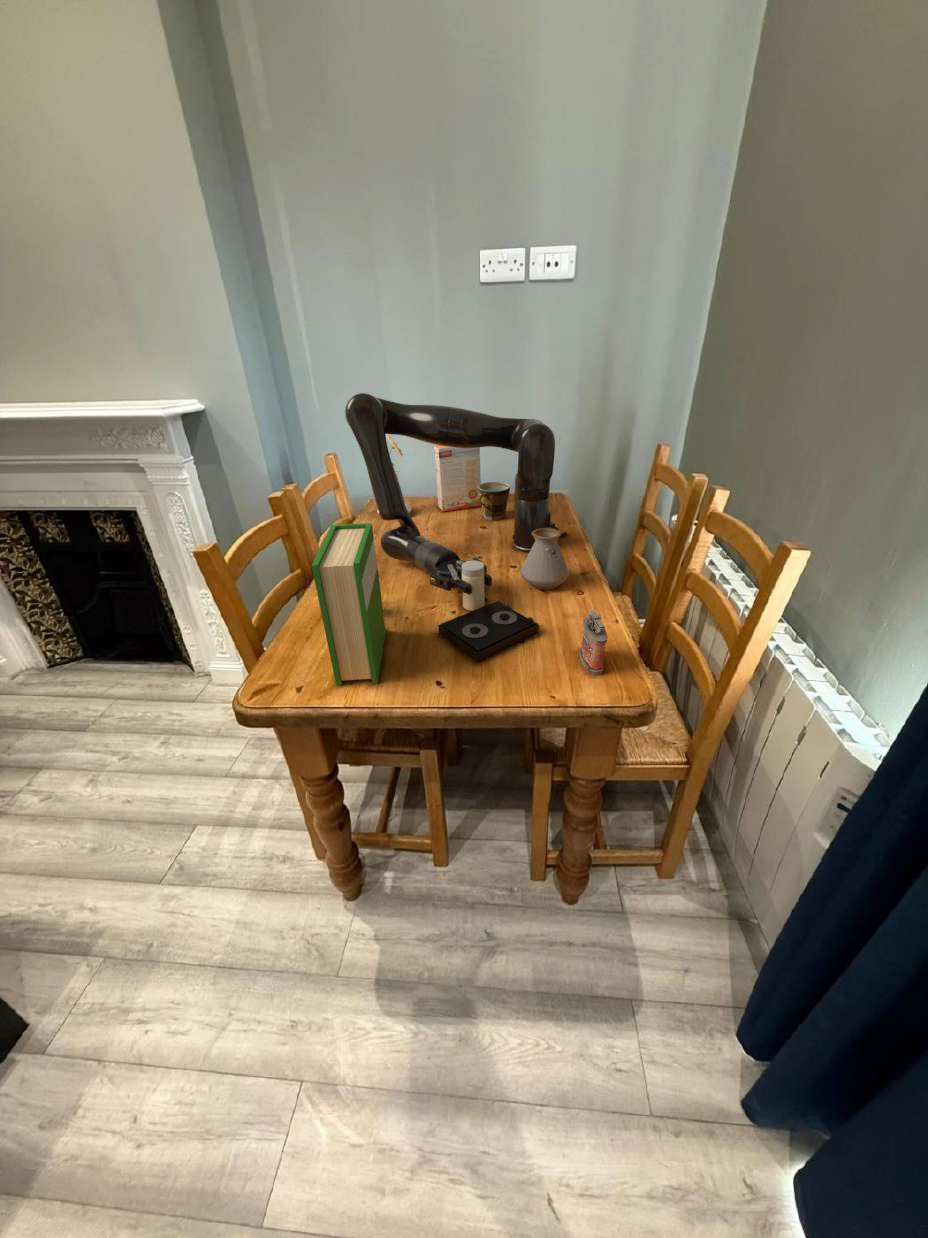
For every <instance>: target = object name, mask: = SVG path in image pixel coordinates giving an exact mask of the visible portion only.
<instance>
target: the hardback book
mask: <svg viewBox="0 0 928 1238" xmlns="http://www.w3.org/2000/svg"><path fill="white" fill-rule="evenodd" d="M373 531H374V530H373V523H372V522H364V523H363V522H362V523H342V524H331V525H330V527H329V529H328V531H327V533H326V535H325V537H324V539H323V541H322V543H321V545H320V547H319V550H318V551H317V553H316V555H315V557H314V560H313V561H312V564H311V569H312V575H313V580H314V585H315V589H316V594H317V599H318V603H319V608H320V613H321V618H322V622H323V628H324V633H325V637H326V638H325V639H326V642H327V647H328V652H329V657H330V661H331V666H332V667H331V668H332V672H333V676H334V681H335V686H336V687H341V686H343V681H355V680H356V681H357V680H371V684H372V685H377V684H378V683H379V676H380V670H381V663H382V658H383V651H384V645H385V639H386V632H387V630H386V621H385V615H384V608H383V607H384V606H383V599H382V592H381V585H380V577H379V576H380V575H379V570H378V569H379V568H378V562H377V554H376V547H375V539H374V532H373Z"/></svg>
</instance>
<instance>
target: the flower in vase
mask: <svg viewBox="0 0 928 1238" xmlns="http://www.w3.org/2000/svg"><path fill="white" fill-rule="evenodd" d="M386 440H387V441H388V442H389V444H390V449H389V454H390V455H391V452H392V450H394V451H395V452H396V453H397V455H399V456H400V457H403V456H404V453H402V451H403V450H402V449H401V448H400V447H399V446H398V444H397V442H396V441H394V439H393V437H392V436H391V435H390V434H386ZM392 464H393V467H394V466H395V464H394V463H393V462H392ZM395 472H396V475H397V476H398V475H399V474H400V473H399V471H396V470H395ZM404 502H405V506H406V508H407V510H408V512H409V514H410V513H412V510H413V507H412V506H411V504H410V503H409V502H408V501H406V500H405V499H404ZM376 511H377V513H378V514H379V511H378V509H377V510H376Z"/></svg>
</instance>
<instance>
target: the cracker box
mask: <svg viewBox="0 0 928 1238" xmlns="http://www.w3.org/2000/svg"><path fill="white" fill-rule="evenodd" d="M433 449H434V450H433V451H434V466H435V477H436V492H437V507H438V508H439V509H440V510H441V511H442V512H450V511H457V510H462V509H470V508H476V507H477V508H478V507H482V504H481V503H480V501H479V498H480V495H479V489H478V486H479V485H481V484H482V483H481V481H482V480H481V479H482V477H481V447H479V448H455V447H447V446H441V445H436V444H433Z"/></svg>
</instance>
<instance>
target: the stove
mask: <svg viewBox="0 0 928 1238" xmlns="http://www.w3.org/2000/svg"><path fill="white" fill-rule="evenodd" d="M437 627H438V628H437V629H438V630H437V631H438V635H439V636H441V637H442V638H443V639H445V640H446V641H447V642H449V643H450V644H452V645H453V646H454V647H455V648H457V649H458V650H459V651H461V652H463V653H464V654H465V655H467V656H468V657H469V658H470V659H472V660H473V661H474V662H475V663H480V662H482V661H484V660H486V659H488V658H491V657H492V656H495V655H496V654H498V653H501V652H503V651H505V650H507V649H509V648H511V647H513V646H515V645H517V644H519V643H521V642H524V641H525V640H528V639H529V638H531V637H533V636H535V635H537V634H539V623H537V622H535V620H534V618H533V617H532V616H529V617H527V616H525V615H523V614H521V613H520V612H518V611H516V610H515V609H513V607H512V606H511V604H509V603H508V604H505V603H502V602H501V601H499V600H495V601H493V602H490V603H488V604H485V606H483V607H481V608H478V609H476V610H473V611H469V612H466V613H464V614H461V615H459V616H457V617H454V618H452V619H450V620H447V621H445V622H442V623H440V624H438V625H437Z"/></svg>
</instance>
